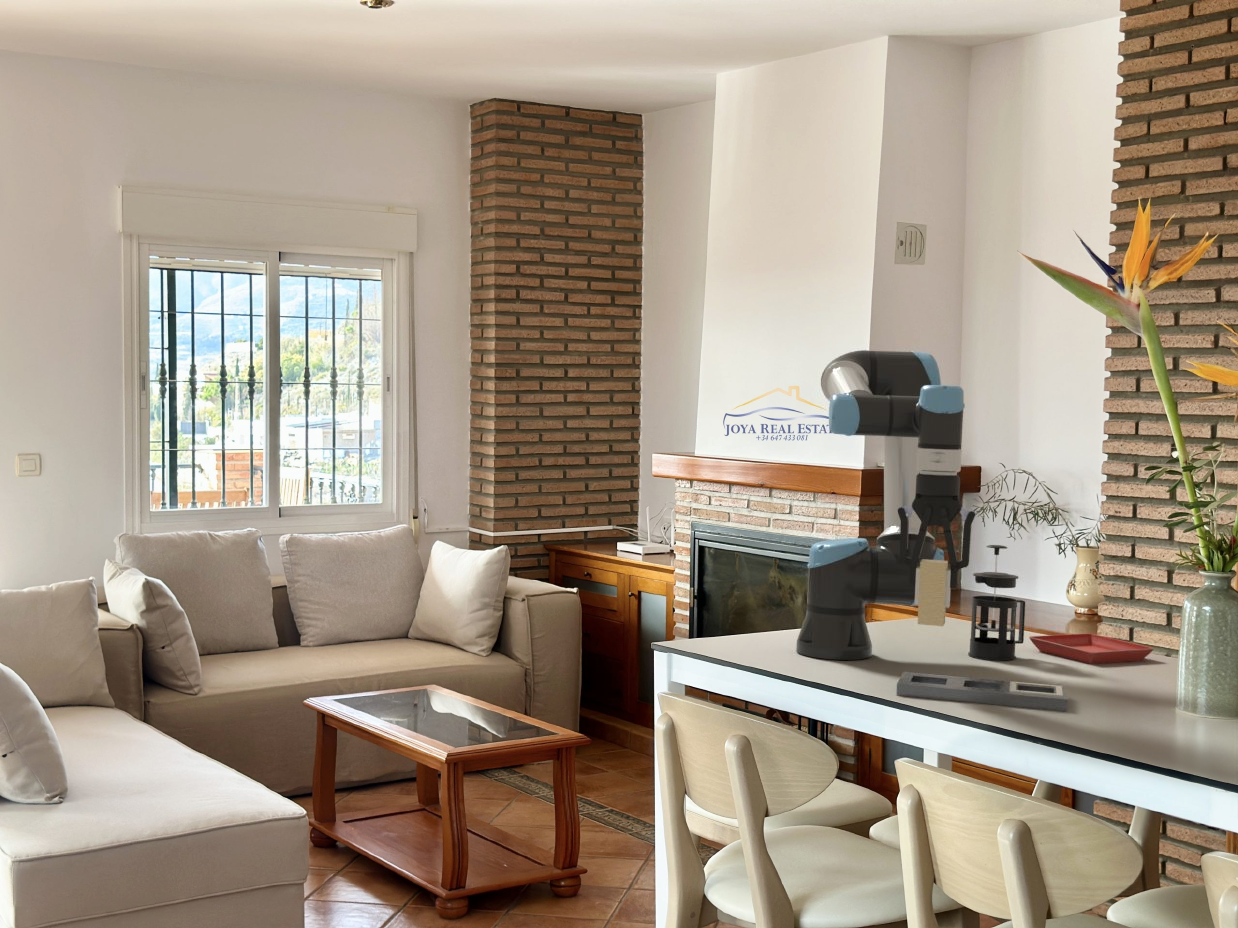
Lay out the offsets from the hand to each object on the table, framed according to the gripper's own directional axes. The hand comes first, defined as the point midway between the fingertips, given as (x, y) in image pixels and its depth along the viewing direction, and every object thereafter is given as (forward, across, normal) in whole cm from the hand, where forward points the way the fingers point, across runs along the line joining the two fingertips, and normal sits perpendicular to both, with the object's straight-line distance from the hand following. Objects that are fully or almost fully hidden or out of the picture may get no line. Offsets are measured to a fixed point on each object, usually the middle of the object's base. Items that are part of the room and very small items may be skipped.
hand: (932, 604), depth 234 cm
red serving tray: (+16, +29, +55) cm, 64 cm away
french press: (+16, +10, +43) cm, 47 cm away
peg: (+3, 0, 0) cm, 3 cm away
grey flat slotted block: (+15, +9, 0) cm, 18 cm away
